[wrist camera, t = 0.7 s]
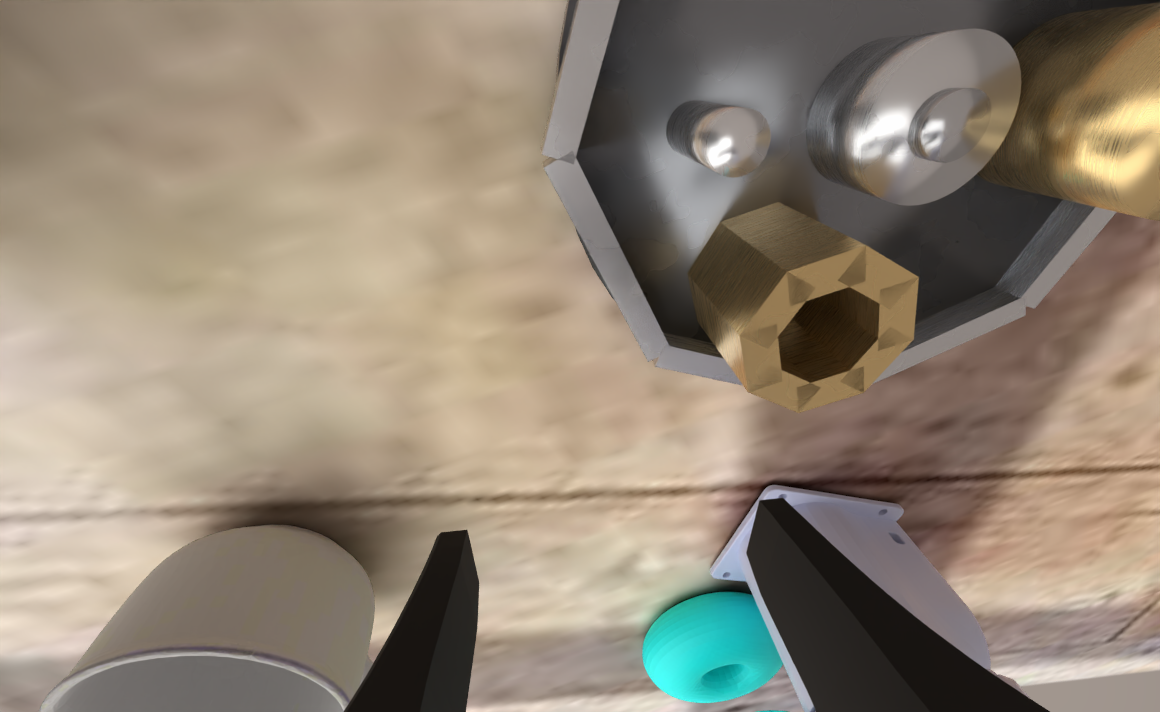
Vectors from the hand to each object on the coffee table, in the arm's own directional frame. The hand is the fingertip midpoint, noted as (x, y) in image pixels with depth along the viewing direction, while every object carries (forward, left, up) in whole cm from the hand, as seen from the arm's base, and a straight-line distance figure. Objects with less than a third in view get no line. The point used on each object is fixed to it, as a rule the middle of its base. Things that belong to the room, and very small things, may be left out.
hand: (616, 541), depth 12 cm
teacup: (+10, +18, -10) cm, 23 cm away
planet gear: (-6, -5, -9) cm, 12 cm away
